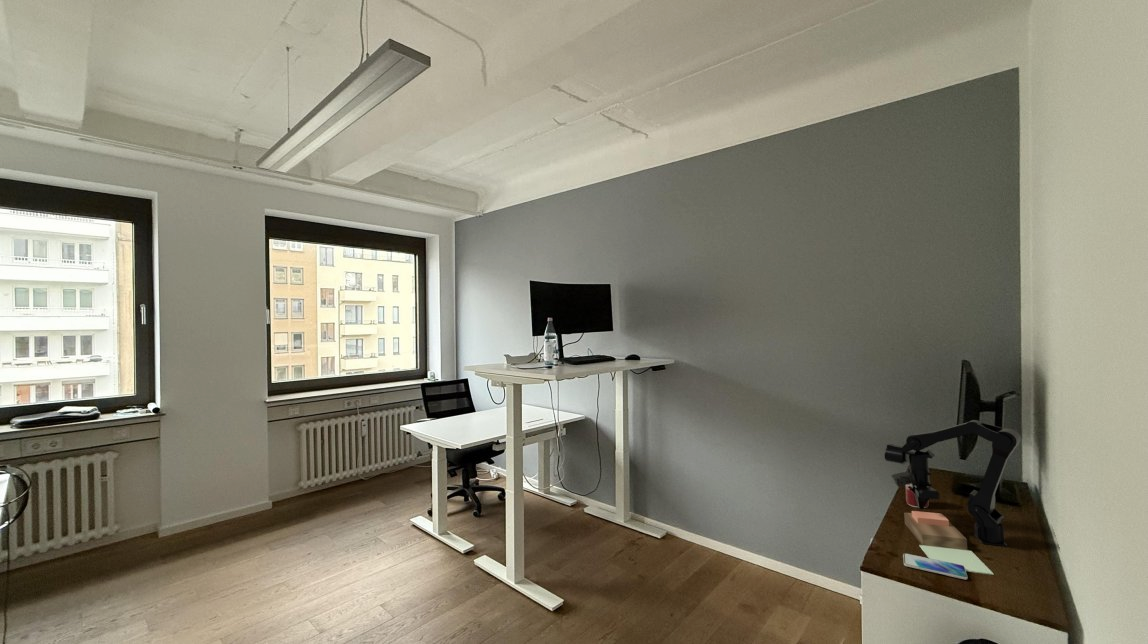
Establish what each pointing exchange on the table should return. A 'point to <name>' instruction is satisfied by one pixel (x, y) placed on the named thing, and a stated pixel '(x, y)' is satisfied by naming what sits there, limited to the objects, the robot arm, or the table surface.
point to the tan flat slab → (936, 534)
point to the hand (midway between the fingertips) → (920, 508)
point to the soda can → (912, 498)
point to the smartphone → (935, 566)
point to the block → (930, 518)
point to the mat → (957, 558)
